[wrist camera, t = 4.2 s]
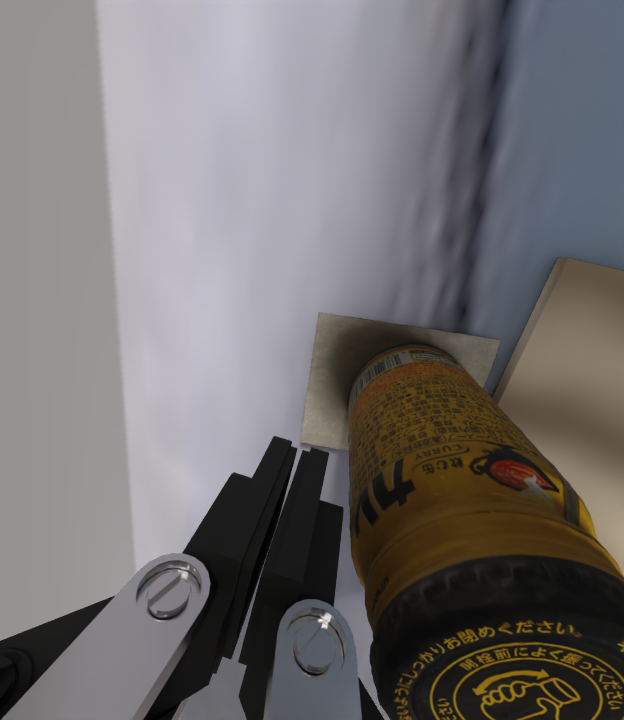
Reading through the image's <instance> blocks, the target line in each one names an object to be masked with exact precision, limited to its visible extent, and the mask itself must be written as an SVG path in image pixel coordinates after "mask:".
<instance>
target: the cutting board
mask: <svg viewBox="0 0 624 720" xmlns="http://www.w3.org/2000/svg"><path fill="white" fill-rule="evenodd" d="M492 400H493V401H494V402H495V403H496V404H497V405H498V406H499V407H500V408H501V409H502V410H503V412H504V413H505V414H506V415H507V416H508V417H509V418H510V419H511V420H512V422H513V423H514V424H515V425H516V426H517V427H519V428H520V429H521V430H522V431H523V433H524V434H525V436H526V437H527V438H528V439H529V440H530V441H531V442H532V443H533V444H534V445H535V446H536V448H537V449H538V450H539V451H540V452H541V453H542V455H543V456H544V457H546V458H547V459H548V460H549V461H550V462H551V463H552V464H553V465H554V466H555V467H556V468H557V470H558V471H559V472H560V473H561V475H562V476H563V477H564V478H565V479H566V480H567V481H568V482H569V483H570V485H571V486H572V488H573V489H574V490H575V492H576V493H577V494H578V495H579V496H580V498H581V499H582V500H583V502H584V504H585V506H586V508H587V509H588V511H589V513H590V515H591V518H592V521H593V524H594V529H595V532H596V536H597V540H598V541H599V542H600V544H601V545H602V546H603V547H604V548H605V549H606V550H607V551H608V552H609V554H610V555H611V556H612V557H613V558H614V560H615V561H616V562H617V563H618V565H619V568H620V570H621V572H622V573H623V575H624V271H623V270H618V269H614V268H610V267H605V266H601V265H597V264H593V263H588V262H584V261H580V260H575V259H571V258H562V257H558V258H557V260H556V263H555V265H554V267H553V269H552V271H551V273H550V275H549V277H548V280H547V282H546V284H545V286H544V288H543V290H542V292H541V294H540V297H539V299H538V301H537V303H536V305H535V307H534V309H533V311H532V314H531V316H530V318H529V320H528V322H527V324H526V326H525V329H524V331H523V333H522V335H521V337H520V339H519V341H518V343H517V346H516V348H515V350H514V352H513V354H512V356H511V358H510V360H509V363H508V365H507V367H506V369H505V371H504V373H503V375H502V377H501V380H500V382H499V384H498V386H497V388H496V390H495V392H494V394H493V397H492Z"/></svg>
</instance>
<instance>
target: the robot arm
mask: <svg viewBox="0 0 624 720" xmlns="http://www.w3.org/2000/svg"><path fill="white" fill-rule="evenodd" d="M291 444H292V441H289V440H286V439H283V438H280V437H276V436H274V437H273V439H272V441H271V443H270V445H269V446H268V448H267V450H266V452H265V454H264V456H263V458H262V460H261V462H260V464H259V466H258V468H257V470H256V472H255V473H254V475H253V477H252V478H250V477H247V476H244V475H240V474H237V473H232V474H231V476H230V477H229V479H228V480H227V482H226V484H225V485H224V487H223V488H222V490H221V492H220V493H219V495H218V496H217V498H216V500H215V501H214V503H213V505H212V506H211V508H210V509H209V511H208V513H207V514H206V516H205V517H204V519H203V521H202V522H201V524H200V525H199V527H198V529H197V530H196V532H195V534H194V535H193V537H192V538H191V540H190V542H189V543H188V545H187V546H186V548H185V550H184V551H183V553H182V554H177V553H172V554H168V555H163V556H160V557H158V558H156V559H154V560H152V561H150V562H148V563H147V564H146V565H145V566H144V567H143V568H141V569H140V570H139V571H138V572H137V573H136V574H135V575H134V576H133V578H132V579H131V580H130V581H129V582H128V583H127V584H126V585H125V586H124V588H122V590H120V592H119V593H118V594H117V595H115V596H113V597H110V598H108V599H106V600H103V601H100V602H98V603H95V604H93V605H90V606H88V607H85V608H83V609H80V610H77V611H75V612H72V613H70V614H67V615H65V616H62V617H60V618H57V619H55V620H52V621H50V622H47V623H44V624H42V625H39V626H37V627H35V628H32V629H29V630H27V631H24V632H22V633H19V634H17V635H14V636H12V637H9V638H7V639H4V640H1V641H0V720H178V718H179V716H180V714H181V712H182V711H183V709H184V707H185V705H186V702H187V700H188V697H190V696H191V695H193V694H194V693H196V692H198V691H199V690H201V689H202V688H204V687H206V686H207V685H209V682H210V679H211V677H212V674H213V673H215V674H216V673H217V670H218V667H219V664H220V662H221V659H222V656H223V657H225V658H228V659H231V658H232V655H233V653H234V650H235V647H236V644H237V641H238V638H239V635H240V632H241V629H242V626H243V623H244V620H245V617H246V615H247V612H248V609H249V606H250V603H251V600H252V597H253V594H254V591H255V588H256V585H257V582H258V579H259V576H260V573H261V571H262V568H263V571H262V574H261V578H260V581H259V585H258V589H257V593H256V596H255V600H254V604H253V608H252V612H251V616H250V619H249V623H248V627H247V631H246V635H245V638H244V642H243V646H242V650H241V654H240V657H239V661H238V662H239V663H242V664H244V665H247V668H246V671H245V675H244V678H243V682H242V685H241V689H240V693H239V699H240V701H241V704H242V707H243V710H244V713H245V716H246V718H247V720H384V718H383V717H382V715H381V713H380V712H379V710H378V708H377V707H376V705H375V704H374V702H373V700H372V699H371V697H370V695H369V694H368V692H367V690H366V689H365V687H364V685H363V684H362V682H361V680H360V679H359V677H358V669H357V657H356V647H355V642H354V638H353V633H352V631H351V629H350V627H349V625H348V623H347V621H346V620H345V618H344V617H343V616H342V615H341V614H340V612H339V611H338V610H337V609H335V608H334V597H335V588H336V578H337V569H338V559H339V550H340V540H341V531H342V521H343V507H340V506H337V505H334V504H331V503H328V502H325V501H321V500H320V495H321V490H322V486H323V481H324V476H325V471H326V466H327V461H328V456H329V453H328V452H325V451H322V450H319V449H315V448H312V447H311V450H310V452H308V451H305V450H303V451H302V454H301V457H300V460H299V463H298V466H297V469H296V472H295V475H294V478H293V481H292V484H291V487H290V490H289V492H288V495H287V498H286V501H285V504H284V507H283V510H282V513H281V516H280V512H281V509H282V505H283V501H284V497H285V494H286V490H287V486H288V482H289V479H290V475H291V471H292V467H293V464H294V460H295V456H296V452H297V448H295V447H292V446H291ZM279 516H280V519H279ZM278 520H279V522H278ZM277 523H278V525H277ZM276 526H277V528H276ZM275 529H276V531H275ZM274 532H275V534H274ZM273 535H274V537H273ZM272 538H273V540H272ZM271 541H272V543H271ZM270 544H271V546H270ZM269 547H270V549H269ZM268 550H269V552H268ZM267 553H268V555H267ZM266 556H267V558H266ZM265 559H266V561H265ZM264 562H265V564H264ZM263 565H264V567H263Z"/></svg>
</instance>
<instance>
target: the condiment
mask: <svg viewBox="0 0 624 720" xmlns="http://www.w3.org/2000/svg"><path fill="white" fill-rule="evenodd" d="M500 342H501V340H496V339H489V338H483V337H477V336H471V335H465V334H459V333H451V332H446V331H440V330H434V329H426V328H421V327H413V326H407V325H398V324H391V323H385V322H380V321H374V320H367V319H362V318H354V317H346V316H339V315H333V314H327V313H320V312H319V314H318V321H317V329H316V335H315V342H314V349H313V357H312V362H311V371H310V377H309V384H308V391H307V397H306V405H305V411H304V418H303V424H302V431H301V438H300V442H302V443H308V444H312V445H317V446H326V447H330V448H333V449H342V450H348V451H349V468H350V471H349V476H350V490H349V507H350V527H349V528H350V537H351V554H352V559H353V563H354V567H355V570H356V573H357V575H358V577H359V580H360V583H361V585H362V586H363V587H364V589H365V606H366V610H367V617H368V621H369V624H370V626H371V629H372V631H373V642H372V644H371V647H370V664H371V667H372V669H371V671H372V676H373V681H374V684H375V687H376V689H377V697H378V700H379V703H380V705H381V706H382V708H383V709H384V710H385V712H386V713H387V715H388V716H389V718H390V719H391V720H624V575H623V573H622V572H621V570H620V568H619V565H618V563H617V562H616V561H615V560H614V558H613V557H612V556H611V555H610V554H609V552H608V551H607V550H606V549H605V548H604V547H603V546H602V545H601V544H600V542H599V541H598V540H597V536H596V532H595V529H594V524H593V521H592V518H591V515H590V513H589V511H588V509H587V508H586V506H585V504H584V502H583V500H582V499H581V498H580V496H579V495H578V494H577V493H576V492H575V490H574V489H573V488H572V486H571V485H570V483H569V482H568V481H567V480H566V479H565V478H564V477H563V476H562V475H561V473H560V472H559V471H558V470H557V468H556V467H555V466H554V465H553V464H552V463H551V462H550V461H549V460H548V459H547V458H546V457H544V456H543V455H542V453H541V452H540V451H539V450H538V449H537V448H536V446H535V445H534V444H533V443H532V442H531V441H530V440H529V439H528V438H527V437H526V436H525V434H524V433H523V431H522V430H521V429H520V428H519V427H517V426H516V425H515V424H514V423H513V422H512V420H511V419H510V418H509V417H508V416H507V415H506V414H505V413H504V412H503V410H502V409H501V408H500V407H499V406H498V405H497V404H496V403H495V402H494V401H493V400H492V398H491V397H490V396H489V395H488V394H487V393H486V391H485V390H484V389H483V388H484V385H485V382H486V380H487V378H488V376H489V373H490V371H491V368H492V365H493V362H494V360H495V357H496V354H497V351H498V348H499V345H500Z"/></svg>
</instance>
